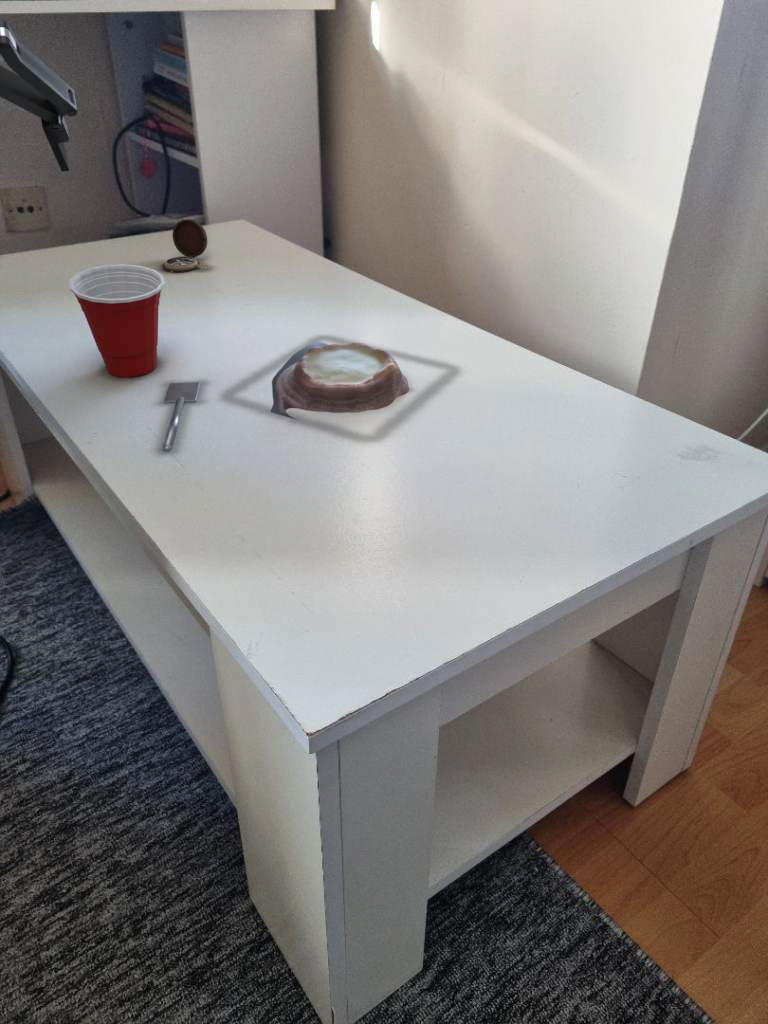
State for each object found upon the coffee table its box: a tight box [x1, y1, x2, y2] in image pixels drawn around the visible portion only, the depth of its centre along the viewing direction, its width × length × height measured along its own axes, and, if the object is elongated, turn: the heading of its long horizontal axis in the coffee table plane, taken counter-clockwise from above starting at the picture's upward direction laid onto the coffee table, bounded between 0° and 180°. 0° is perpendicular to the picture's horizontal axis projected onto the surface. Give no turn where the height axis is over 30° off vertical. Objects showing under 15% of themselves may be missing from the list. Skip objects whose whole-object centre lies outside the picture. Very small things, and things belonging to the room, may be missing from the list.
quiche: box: [270, 342, 410, 421], centre depth 96 cm, size 21×20×4 cm
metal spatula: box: [161, 381, 201, 453], centre depth 90 cm, size 4×16×1 cm, turn 5°
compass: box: [161, 217, 210, 274], centre depth 132 cm, size 8×8×7 cm
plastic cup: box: [68, 263, 166, 379], centre depth 97 cm, size 11×11×12 cm
